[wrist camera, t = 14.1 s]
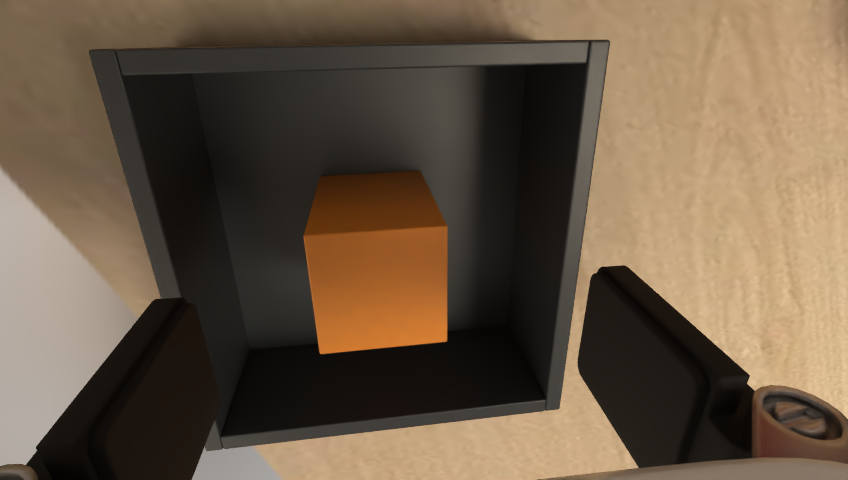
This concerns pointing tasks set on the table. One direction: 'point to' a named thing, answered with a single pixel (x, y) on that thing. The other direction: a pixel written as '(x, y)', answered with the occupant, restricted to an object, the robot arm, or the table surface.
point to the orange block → (377, 262)
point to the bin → (361, 154)
